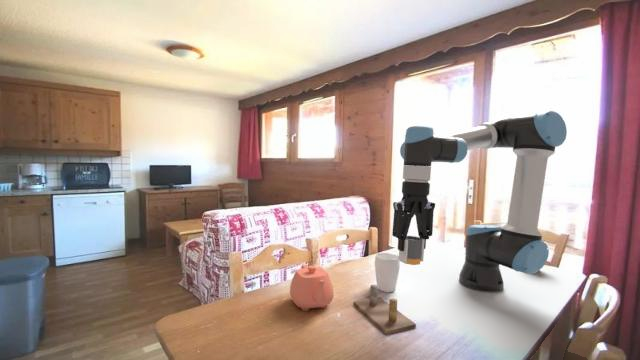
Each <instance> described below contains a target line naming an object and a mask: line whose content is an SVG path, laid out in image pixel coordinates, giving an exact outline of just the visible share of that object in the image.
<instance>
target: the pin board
mask: <svg viewBox="0 0 640 360" xmlns="http://www.w3.org/2000/svg"><path fill="white" fill-rule="evenodd" d="M369 289H370V291H369V292H370V294H369V298H366V299H360V300H354V301H352V302H353V303H352V304H353V307H355V308H356V309H357V310H358V311H359V312H360V313H362V314H363V315H364V316H365V317H366V318H367V319H368V320H369V321H370V322H371V323H373V324H374V326H376V327H377V328H378V329H379V330H380V331H381V332H382V333H384V334H385V335H391V334H395V333H399V332H403V331H406V330H407V331H408V330H412V329H416V328H417V323H415V322H414V321H413V320H412V319H410V318H408V317H407V316H406V315H404V314H403V313H402V312H400V311H399V310H398V299H397V298H394V297H391V298H389V301H388V302H387V301H386V300H385V299H384V298H382V297H380V296H378V286H377V284H371V285H370V287H369Z"/></svg>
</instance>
